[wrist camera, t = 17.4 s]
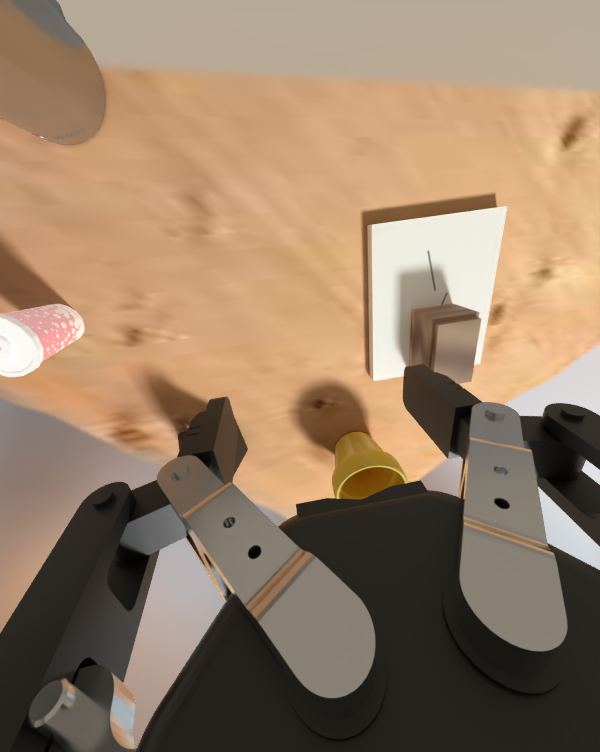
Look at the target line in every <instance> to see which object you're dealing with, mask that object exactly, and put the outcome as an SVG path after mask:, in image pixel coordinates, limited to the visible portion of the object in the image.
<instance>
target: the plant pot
mask: <svg viewBox="0 0 600 752" xmlns="http://www.w3.org/2000/svg"><path fill="white" fill-rule="evenodd" d="M405 483H408V481H407V478H406V476H405V474H404V472H403V470H402V468H401V467H400V465H399V463H398V462H397V461H396V459H395V458H394V457H393V456H392V455H390V454H389V453H387V452H384V451H383V450H382V449H381V448H380V447H379V446H378V444H377V443H376V442H375V441H374V440H373V439H372V438H371V437H370V436H369V435H368V434H366V433H363V432H351V433H348V434H346V435H344V436H343V437H341V438H340V439H339V441H338V442H337V444H336V447H335V470H334V473H333V476H332V485H333V490H334V495H335V499H364V498H366V497H368V496H370V495H373V494H375V493H377V492H379V491H381V490H384V489H386V488H388V487H390V486H395V485H400V484H405Z"/></svg>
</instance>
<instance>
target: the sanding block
mask: <svg viewBox="0 0 600 752" xmlns="http://www.w3.org/2000/svg"><path fill="white" fill-rule="evenodd" d="M480 325H481V318H479V312H477V311H474V310H471V309H468V308H465V307H462V306H459V305H456V304H453V303H451V304H445V305H438V306H432V307H425V308H419V309H412V310H411V330H410V350H409V366H412V365H418V364H425V365H426V366H427V367H429V368H430V369H431V370H432V371H434V372H438V373H440V374H443V375H446V376H448V377H449V378H451V379H452V380H453V381H455V382H456V384H459V383H465V382H471V380H472V374H473V368H474V362H475V355H476V349H477V343H478V337H479V331H480Z"/></svg>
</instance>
